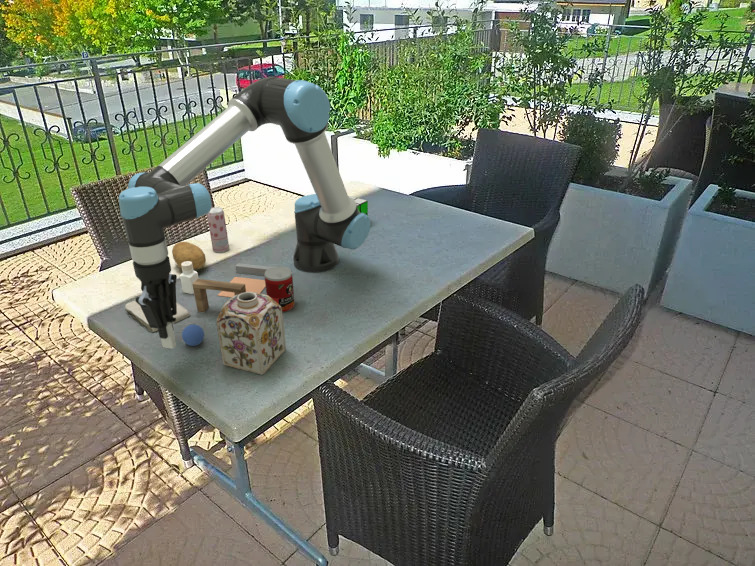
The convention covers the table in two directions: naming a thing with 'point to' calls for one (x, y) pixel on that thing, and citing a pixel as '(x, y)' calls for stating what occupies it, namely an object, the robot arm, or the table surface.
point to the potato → (188, 254)
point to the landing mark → (250, 285)
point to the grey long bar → (251, 269)
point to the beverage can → (218, 230)
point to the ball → (193, 335)
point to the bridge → (202, 285)
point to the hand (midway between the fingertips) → (169, 346)
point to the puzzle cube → (361, 205)
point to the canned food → (280, 286)
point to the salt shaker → (188, 277)
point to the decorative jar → (251, 332)
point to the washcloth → (139, 316)
